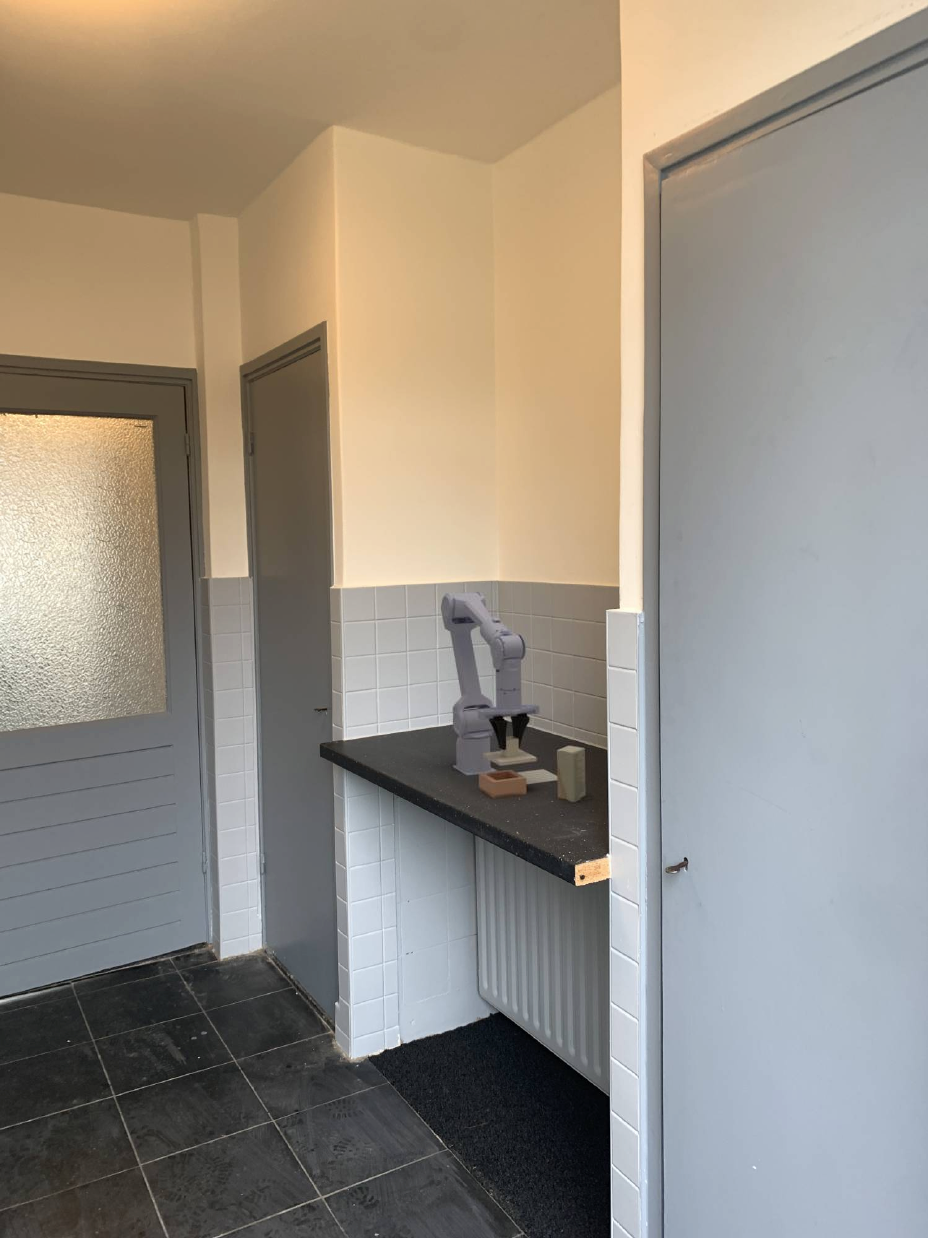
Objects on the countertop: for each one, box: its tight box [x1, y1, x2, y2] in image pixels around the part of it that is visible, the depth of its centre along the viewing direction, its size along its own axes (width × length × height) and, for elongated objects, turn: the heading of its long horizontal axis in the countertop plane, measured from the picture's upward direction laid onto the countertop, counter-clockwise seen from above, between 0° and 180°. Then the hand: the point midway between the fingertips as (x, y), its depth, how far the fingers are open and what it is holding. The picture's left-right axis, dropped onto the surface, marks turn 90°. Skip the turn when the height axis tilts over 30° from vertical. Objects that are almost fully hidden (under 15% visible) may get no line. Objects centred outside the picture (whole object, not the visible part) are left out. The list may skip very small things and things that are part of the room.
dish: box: [478, 769, 527, 800], centre depth 201 cm, size 8×8×4 cm
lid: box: [483, 735, 538, 767], centre depth 203 cm, size 9×9×5 cm
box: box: [556, 745, 586, 803], centre depth 196 cm, size 5×4×11 cm
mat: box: [517, 768, 557, 785], centre depth 214 cm, size 10×10×1 cm
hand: (509, 748), depth 203 cm, fingers closed on lid, 3 cm apart
